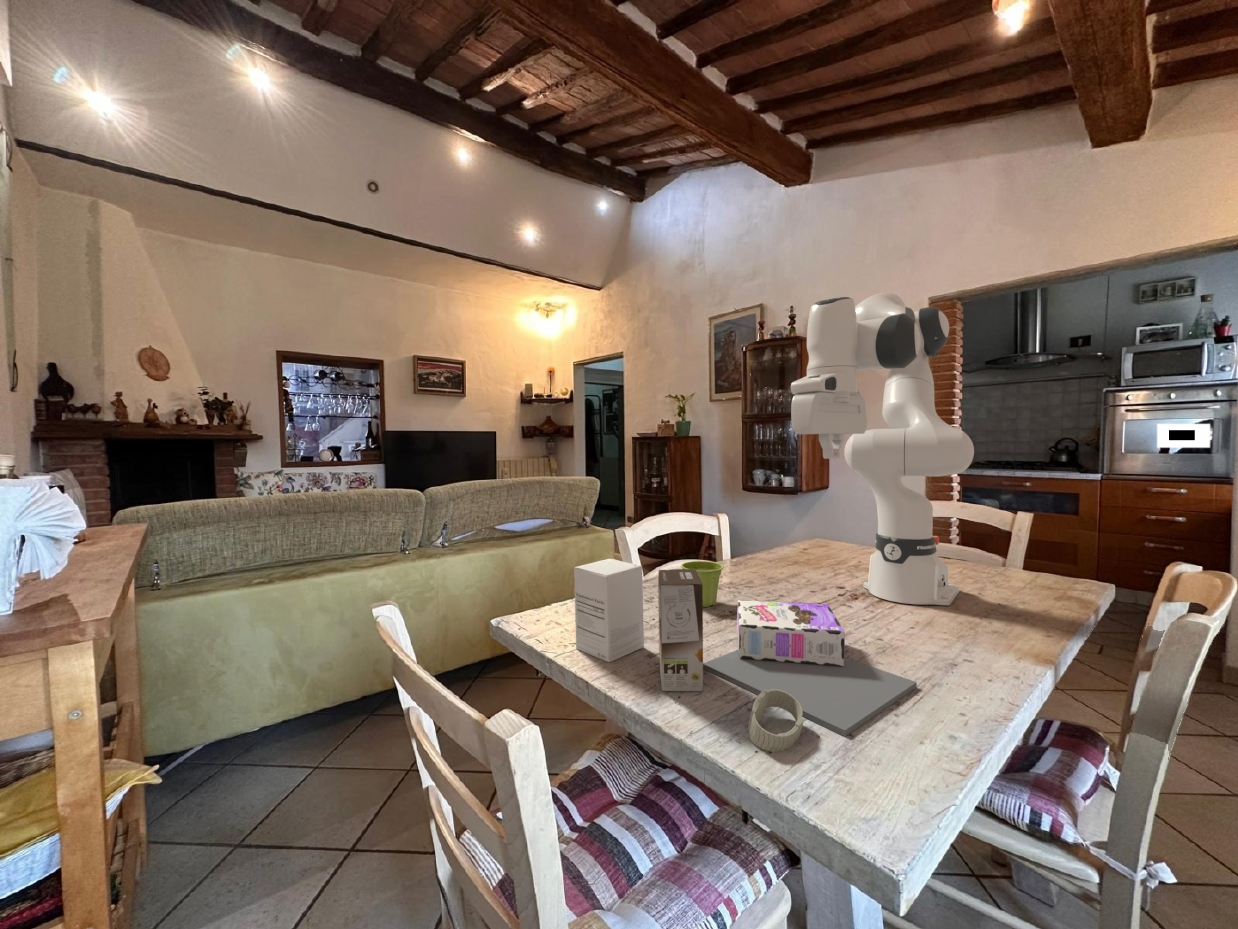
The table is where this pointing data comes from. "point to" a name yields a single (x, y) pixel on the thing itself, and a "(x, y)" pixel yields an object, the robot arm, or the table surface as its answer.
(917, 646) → the table surface
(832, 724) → the mat
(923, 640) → the table surface
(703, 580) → the plant pot
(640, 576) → the supplement box
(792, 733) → the beige ribbed ring
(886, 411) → the robot arm
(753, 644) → the candy box
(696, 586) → the coffee box
